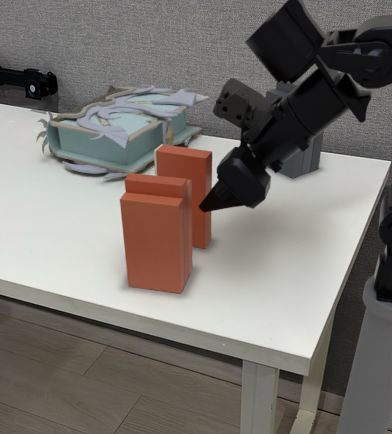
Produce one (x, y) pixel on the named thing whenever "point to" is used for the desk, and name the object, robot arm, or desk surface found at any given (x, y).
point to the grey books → (300, 160)
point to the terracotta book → (201, 182)
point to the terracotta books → (157, 231)
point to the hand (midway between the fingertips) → (210, 193)
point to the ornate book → (120, 129)
